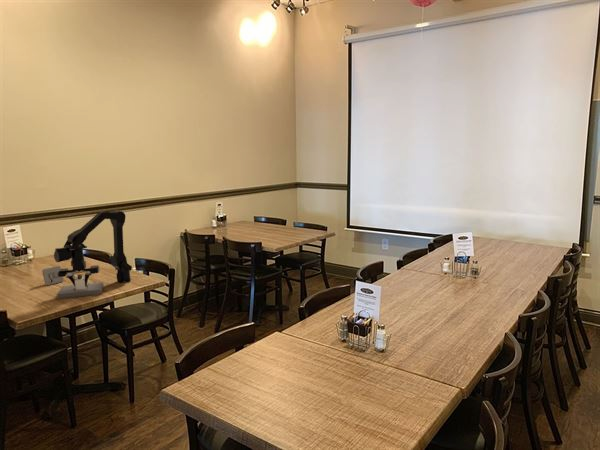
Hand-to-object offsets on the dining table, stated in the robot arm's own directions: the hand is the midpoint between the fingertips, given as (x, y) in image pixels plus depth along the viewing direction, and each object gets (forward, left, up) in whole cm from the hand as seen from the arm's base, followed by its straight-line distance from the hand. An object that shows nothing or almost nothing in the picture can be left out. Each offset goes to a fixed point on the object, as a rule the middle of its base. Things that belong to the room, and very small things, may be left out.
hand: (81, 287), depth 234 cm
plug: (0, 0, -2) cm, 2 cm away
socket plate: (0, 0, -3) cm, 3 cm away
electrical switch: (+18, -23, -3) cm, 30 cm away
